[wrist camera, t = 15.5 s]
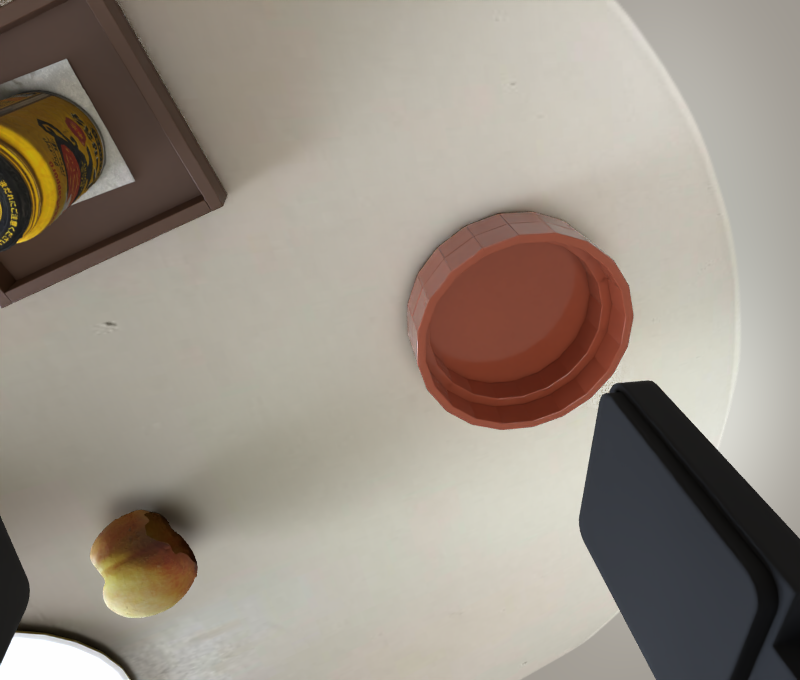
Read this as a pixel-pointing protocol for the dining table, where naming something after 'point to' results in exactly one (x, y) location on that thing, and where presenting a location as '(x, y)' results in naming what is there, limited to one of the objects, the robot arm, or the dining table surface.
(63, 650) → the plate
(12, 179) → the condiment
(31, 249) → the tray
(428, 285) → the bowl
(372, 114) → the dining table surface
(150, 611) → the fruit
